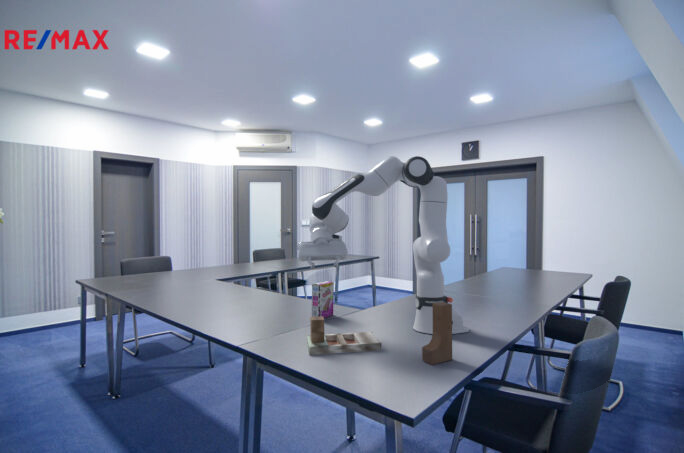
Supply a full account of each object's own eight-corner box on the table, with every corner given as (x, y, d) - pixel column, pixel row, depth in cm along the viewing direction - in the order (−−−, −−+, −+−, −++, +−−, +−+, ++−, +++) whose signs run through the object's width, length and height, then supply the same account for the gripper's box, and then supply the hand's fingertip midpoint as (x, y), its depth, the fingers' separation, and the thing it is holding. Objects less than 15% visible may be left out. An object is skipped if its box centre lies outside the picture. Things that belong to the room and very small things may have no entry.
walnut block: (322, 338, 125) (322, 316, 125) (324, 342, 120) (324, 319, 120) (310, 339, 124) (310, 316, 124) (311, 343, 119) (311, 320, 119)
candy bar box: (319, 320, 158) (319, 284, 158) (311, 318, 161) (311, 283, 161) (334, 315, 167) (334, 281, 167) (326, 313, 170) (326, 280, 170)
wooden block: (431, 365, 106) (431, 307, 106) (421, 360, 110) (421, 304, 110) (452, 360, 110) (452, 304, 110) (442, 355, 114) (442, 301, 114)
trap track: (372, 338, 132) (371, 331, 132) (381, 350, 119) (381, 342, 119) (306, 342, 128) (306, 335, 128) (309, 355, 115) (309, 347, 115)
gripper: (296, 237, 143) (298, 263, 133) (345, 235, 146) (350, 260, 136) (296, 247, 147) (298, 273, 137) (343, 245, 151) (348, 270, 141)
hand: (324, 266), depth 137 cm, fingers open, 8 cm apart
